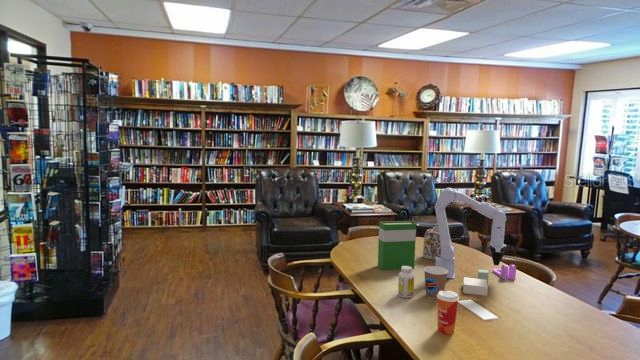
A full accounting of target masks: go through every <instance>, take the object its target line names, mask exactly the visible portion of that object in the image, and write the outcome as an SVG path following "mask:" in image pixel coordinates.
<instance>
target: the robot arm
mask: <svg viewBox="0 0 640 360" xmlns="http://www.w3.org/2000/svg"><path fill="white" fill-rule="evenodd" d="M453 201H455V203H456V202H462V203H464V204H466V205H469V206H470V207H472V208H475V209H476V211H477V213H479V214H481V215H483V216H485V217H486V218H488V219H492V225H491V236H490V244H489V249H490V252H491V258H492V263H493V266H498V267H499V265H500V263H501V259H502V257H503V255H504V254H505V252H504V251H501V250H503V248H506V247H507V244H505V243H504V242H505V241H504V240H505V231H506V230H505V229H506V221H507V215H506V213H505V212H504V211H503V210H502V209H500V208H499V207H495V206H493V205H490V203H489V201H488V202H487V201H481V202H480V201H477V200H476V199H474V198H472V197H470V196H469V195H467V194H465V193H464V192H462V191H460V190H458V189H454V188H452V187H446V188H445V189H443V190H442V191H441V192H440V194H439V195H438V198H437V200H436V203H435V204H434V210H435V215H436V216H435V217H436V221H437V226H438V227H439V233H440V238H441V247H442V250H441V256H440V257H436V260H435V265H434V266H437V267H442V268H445V269H447V270H448V273H447V278H446V279H455V278H456V273H455V268H456V267H455V266H456V265H455V264H456V263H455V262H456V257H455V251H456V247H455V246H454V244H453V243H452V239H451V236H450V235H451V234H450V228H449V224H448V219H447V218H448V217H447V213H446V207H447V206H448V205H449V204H451V203H452V202H453Z"/></svg>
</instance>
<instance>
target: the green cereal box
mask: <svg viewBox="0 0 640 360" xmlns="http://www.w3.org/2000/svg"><path fill="white" fill-rule="evenodd" d="M378 225H379V226H378V244H377V245H378V246H377V247H378V248H377V249H378V250H377V266H378V267H379V269H380V270H382V271H390V270H391V271H393V270H394V269H395V270H401V267H402V266H410V267H412V270H413V269H415V262H416V261H415V259H416V257H415V256H416V240H417V239H416V237H417V223H412V220H397V221H396V220H395V221H389V220H388V221H379V223H378ZM395 270H394V271H395Z"/></svg>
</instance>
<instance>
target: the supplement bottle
mask: <svg viewBox="0 0 640 360" xmlns="http://www.w3.org/2000/svg"><path fill="white" fill-rule="evenodd" d="M400 270H401V271H400V272H399V273H398V287H397V288H398V289H397V295H398V297H400V298H403V299H411V298H413V297H414V292H415V274H414V273H413V272H412V271H413V269H412V267H410V266H402V267H401V269H400Z"/></svg>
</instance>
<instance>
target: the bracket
mask: <svg viewBox="0 0 640 360" xmlns="http://www.w3.org/2000/svg"><path fill="white" fill-rule="evenodd" d="M516 272H517V267H516V265H515V264H509V266H508V265H507V264H501V268H492V273H493V274H495V275H497V276H498V277H500V278H501V277H502V278H501V279H503V280H504V279H505V280H506V279H511V280H516V275H517V273H516Z"/></svg>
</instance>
